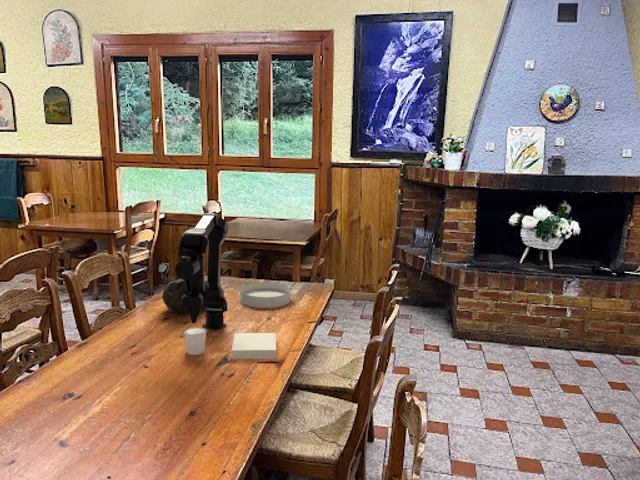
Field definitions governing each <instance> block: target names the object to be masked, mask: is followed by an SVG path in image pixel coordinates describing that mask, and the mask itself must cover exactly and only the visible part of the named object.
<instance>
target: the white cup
mask: <svg viewBox="0 0 640 480" xmlns="http://www.w3.org/2000/svg"><path fill="white" fill-rule="evenodd" d="M183 333H184V341H185V348H186V353H187V355H190V356H198V355H202V354H203V353H204V352H205V348H206V347H205V346H206V339H207V338H206V336H207V330H206V329H205V327H204V328H203V327H191V328H188V329H185V331H184V332H183Z"/></svg>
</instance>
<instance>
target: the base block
mask: <svg viewBox="0 0 640 480" xmlns="http://www.w3.org/2000/svg"><path fill="white" fill-rule="evenodd" d="M276 335H277V334H276V332H246V333H245V332H244V333H243V332H240V333H239V332H235V333H234V337H233V339H232V340H233V341H232V346H231V360H273V359H274V360H276V359H277V336H276Z"/></svg>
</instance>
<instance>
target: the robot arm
mask: <svg viewBox="0 0 640 480" xmlns="http://www.w3.org/2000/svg"><path fill="white" fill-rule="evenodd" d="M228 233H229V223H228V222H227V220H226V219H224V218H222V217H221V216H219V214H217V213H206V212H205V213H203V214H202V216H201V219H200V220H199V221H198V223H197V224H196V225H195V227H194V228H190V229H187V230H186V231H185V232H183V235H181V237H180V242H179V243H180V246H179V245H178V246H179V248H178V252H177V257H178V256H183V257H181V261H180V262H179V263H178V262H177V264H176V265H175V268H174V273H175V276H176V275H177V276H178V277H179V278H180V279H178V280H175V281H174V280H173V281H170V282H168V284H167V285H166V286H167V288H168V290H167V291H168V292H169V293H170V295H174V294H175V293H177V292H180V291H183V290H184V292H189V293H185V294H184V295H183V296H182V298H181V306H183V307H185V308H187V309H188V312H189V313H188V314H189V318H190V322H191V324H196V322H197V321H198V317H199V315H200V314H201V312H202V313H203V312H205V323H203V324H202V326H203V327H204V328H207V329H209V330H211V331H215V330H218V329H222V328H224V327H227V324H226V323H224V321H225V320H224V319H225V318H224V313H226V312H228V301H227V299H226V297H225V291H224V289H223V287H222V286H221V269H222V267H221V264H222V262H221V261H222V245H223V244H224V242H225V240H226V239H227V234H228ZM184 249H185V250H184ZM189 250H190V251H189ZM207 252H208V257H207V276H206V271H205V255H206V254H207ZM205 277H207V279H205Z"/></svg>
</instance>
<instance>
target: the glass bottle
mask: <svg viewBox="0 0 640 480" xmlns="http://www.w3.org/2000/svg"><path fill="white" fill-rule="evenodd" d="M179 246H180V242H178V246H176V249H179ZM184 250H185V249H184ZM189 251H191V250H189ZM177 257H178V259H177V264H178V263H179V262H180V261H181V257H183V256H178V255H177ZM178 279H180V278H179V277H178V276H177V275H176V274H175V278H174V280H173V281H175V280H178ZM167 290H168V288H167V285H166V286H165V287H164V289H163V291H162V300H163V303H164V305H165V306H166V308H167V309H169V310H170V311H171V312H173V313H176V314H181V315H182V314H183V315H185V314H189V312H188V309H187V308H185V307H183V306H181V298H182V296H183V295H184V294H185V293H189V292H184V290H183V291H180V292H177V293H175V294H174V295H170V293H169V292H168V291H167Z"/></svg>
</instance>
